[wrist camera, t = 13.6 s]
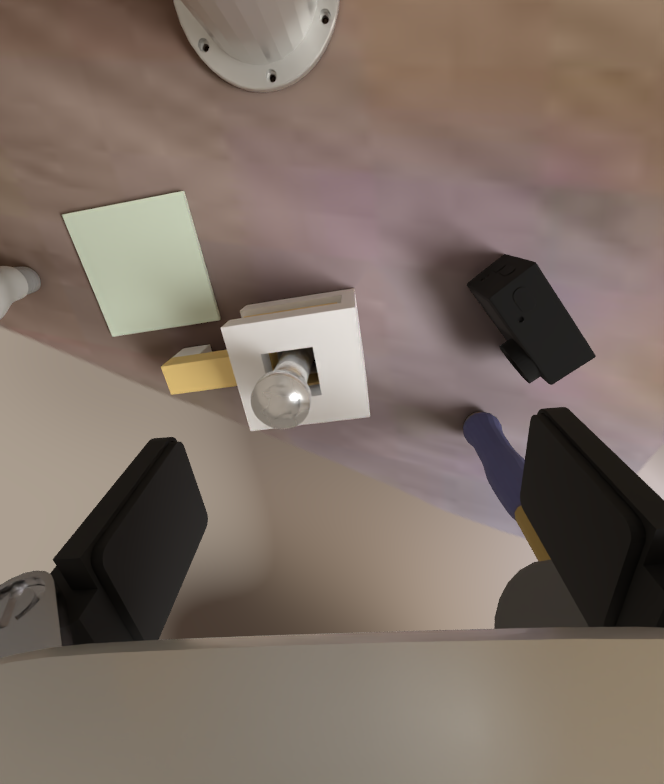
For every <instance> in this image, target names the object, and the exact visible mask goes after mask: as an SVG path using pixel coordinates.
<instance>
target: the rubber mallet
mask: <svg viewBox="0 0 664 784" xmlns="http://www.w3.org/2000/svg"><path fill="white" fill-rule="evenodd" d="M463 432H464V436H465V438H466V440H467V441H468V443H470V444H471V445H472V446H473V447H474V448H475V450H476V452H477V454H478V456H479V458H480V460H481V461H482V464H483V466H484V470H485V473H486V476H487V479H488V482H489V484H490V485H491V487H492V489H493V491H494V492H495V494H496V496H497V497H498V499H499V500H500V502H501V503H502V505H503V506H504V508H505V509H506V511H507V512H508V513H509V515H510V516H511V517H512V518H513V519H515V520H516V521H517V523H518V525H519V527H520V528H521V530H522V532H523V534H524V536H525V538H526V539H527V541H528V543H529V545H530V547H531V548H532V550H533V552H534V554H535V556H536V557H537V559H538V562H534V563H532V564H530V565H528V566H527V567H525V568H523V569H521V570H520V571H519V572H518V573H517V574H516V575H515V576H514V577H513V578H512V579H511V580H510V581H509V582H508V584H507V586H506V587H505V589H504V591H503V593H502V595H501V597H500V599H499V603H498V607H497V611H496V615H495V629H509V628H548V627H589V626H588V624H587V623H586V621H585V619H584V617H583V615H582V614H581V612H580V610H579V608H578V607H577V605H576V603H575V601H574V599H573V598H572V596H571V594H570V592H569V591H568V589H567V587H566V585H565V583H564V582H563V580H562V578H561V576H560V575H559V573H558V571H557V569H556V567H555V566H554V564H553V562H552V560H551V559H550V557H549V555H548V553H547V551H546V550H545V548H544V546H543V544H542V543H541V541H540V539H539V537H538V535H537V534H536V532H535V530H534V528H533V527H532V525H531V523H530V521H529V519H528V518H527V516H526V514H525V512H524V511H523V508H522V506H521V502H520V491H521V484H522V477H523V470H524V463H525V460H524V459H523V458H522V457H521V456H520V455H519V454H518V453H517V452H516V451H515V450H514V449H513V448H512V446H511V445H510V443H509V442H508V440H507V439H506V437H505V436H504V434H503V432H502V427H501V424H500V422H499V421H498V419H497V418H496V417H495V416H493V415H492V414H490V413H485V412H476V413H473V414H471V415H470V416H469V417H467V419H466V421H465V423H464V426H463Z"/></svg>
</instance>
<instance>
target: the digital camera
mask: <svg viewBox="0 0 664 784" xmlns="http://www.w3.org/2000/svg"><path fill="white" fill-rule="evenodd" d="M487 276H488V277H487ZM486 277H487V278H486ZM467 286H468V288H469V289H470V290H471V292H472V293H473V295H474V296H475V297H476V299H477V300H478V301H479V303H480V304H481V306H482V307H483V308H484V310H485V311H486V313H487V314H488V315H489V317H490V318H491V319H492V321H493V322H494V324H495V325H496V326H497V328H498V329H499V330H500V332H501V333H502V335H503V336H504V337H505V339H506V340H507V341H506V342H505V343H504V344H502V345H501V346H500V349H501V350H502V352H503V353H504V355H505V356H506V358H507V359H508V360H509V361H510V363H511V364H512V365H513V366H514V368H515V369H516V370H517V371H518V372H519V374H520V375H521V376H522V377H523V378H524V379H525V380H526V381H527V382H528V383H531V382H533V381H534V380H536V379H537V378H539V377H540V376H541V377H542V378H543V379H544V380H545V381H546V382H547V383H549V384H551V385H552V384H554V383H555V382H557V381H559V380H560V379H562V378H563V377H565V376H566V375H568V374H569V373H571V372H573V371H574V370H576V369H577V368H579V367H580V366H582V365H584V364H585V363H587V362H588V361H590V360H592V359H593V358H595V357H596V356H595V354H594V352H593V351H592V349H591V348H590V346H589V345H588V343H587V341H586V340H585V338H584V337H583V335H582V334H581V332H580V330H579V329H578V327H577V326H576V324H575V323H574V321H573V320H572V318H571V316H570V315H569V313H568V312H567V310H566V309H565V307H564V306H563V304H562V302H561V301H560V299H559V298H558V296H557V295H556V293H555V292H554V290H553V289H552V287H551V285H550V284H549V282H548V281H547V279H546V278H545V276H544V275H543V273H542V272H541V270H540V268H539V267H538V265H537V264H536V262H533V261H529V260H525V259H521V258H518V257H514V256H510V255H506V254H504V255H503V256H502V257H500V258H499V259H498V260H496V261H495V262H494V263H493V264H491V265H490V266H489V267H488V268H486V269H485V270H484V271H482V272H481V273H480V274H479V275H477V276H476V277H475V278H474V279H472V280H471V281H470V282H468V284H467Z"/></svg>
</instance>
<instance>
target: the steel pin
mask: <svg viewBox="0 0 664 784" xmlns="http://www.w3.org/2000/svg"><path fill="white" fill-rule="evenodd" d="M313 359H314V352H313V347H309V348H302V349H295V350H288V351H283V353H282V355H281V357H280V359H279V361H278V363H277V365H276V367H275V369H274V370H273V371H270V372H268V373H266V374H264V375H263V376H262V377H261V378H260V379H259V380H258V382H257V384H256V385H255V387H254V389H253V391H252V394H251V407H252V410H253V412H254V414H255V415H256V417H257V418H258V419H259V420H260V421H261V422H262V423H264V424H265V425H267V426H269V427H272V428H276V429H290V428H293V427H295V426H297V425H299V424H301V423H302V422H303V421H304V420H305V418H306V417H307V415H308V413H309V410H310V405H311V400H312V396H311V391H310V388H309V386H308V384H307V381H308V377H309V373H310V370H311V366H312V362H313Z"/></svg>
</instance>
